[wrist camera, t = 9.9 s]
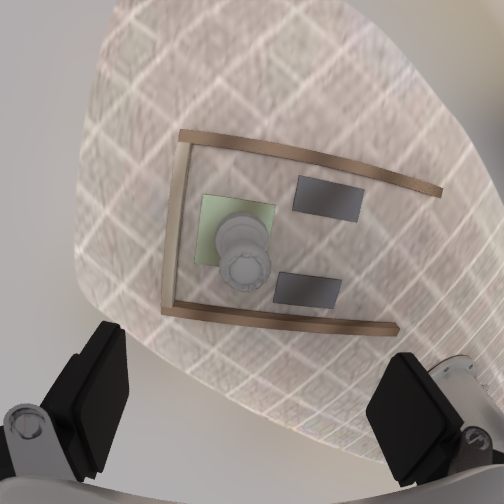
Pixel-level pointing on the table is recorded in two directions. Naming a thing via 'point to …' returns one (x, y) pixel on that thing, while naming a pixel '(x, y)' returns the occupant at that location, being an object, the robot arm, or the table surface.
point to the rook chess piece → (243, 251)
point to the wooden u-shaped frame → (306, 200)
